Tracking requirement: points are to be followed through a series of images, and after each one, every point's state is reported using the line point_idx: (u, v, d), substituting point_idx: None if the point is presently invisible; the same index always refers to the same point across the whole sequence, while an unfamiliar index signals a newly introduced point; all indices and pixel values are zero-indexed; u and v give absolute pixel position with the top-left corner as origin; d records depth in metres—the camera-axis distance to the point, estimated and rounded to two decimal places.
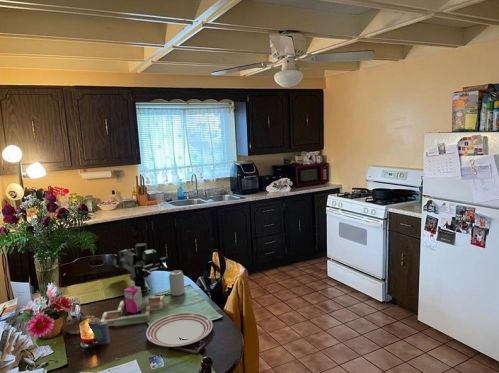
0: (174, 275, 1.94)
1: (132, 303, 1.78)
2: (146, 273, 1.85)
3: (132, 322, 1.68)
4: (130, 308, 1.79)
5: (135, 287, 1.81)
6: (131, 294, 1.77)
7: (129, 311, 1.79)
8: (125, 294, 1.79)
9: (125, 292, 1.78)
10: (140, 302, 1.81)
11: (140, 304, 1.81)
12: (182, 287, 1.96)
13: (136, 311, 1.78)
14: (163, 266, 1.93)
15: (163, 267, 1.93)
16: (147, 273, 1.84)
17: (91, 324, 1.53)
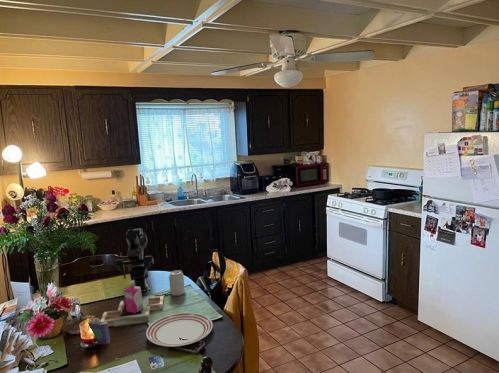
0: (174, 275, 1.94)
1: (132, 303, 1.78)
2: (123, 274, 1.88)
3: (132, 322, 1.68)
4: (130, 308, 1.79)
5: (135, 287, 1.81)
6: (131, 294, 1.77)
7: (129, 311, 1.79)
8: (125, 294, 1.79)
9: (125, 292, 1.78)
10: (140, 302, 1.81)
11: (140, 304, 1.81)
12: (182, 287, 1.96)
13: (136, 311, 1.78)
14: (144, 268, 1.91)
15: None
16: (123, 275, 1.88)
17: (91, 324, 1.53)
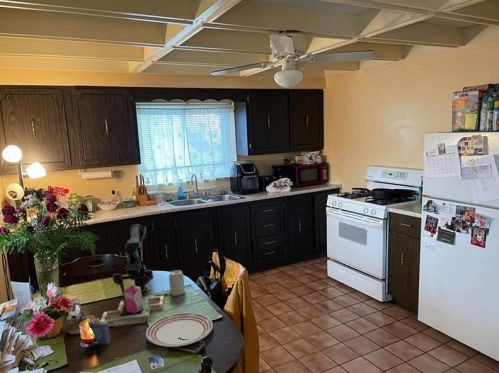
0: (174, 275, 1.94)
1: (132, 303, 1.78)
2: (121, 289, 1.82)
3: (132, 322, 1.68)
4: (130, 308, 1.79)
5: (135, 287, 1.81)
6: (131, 294, 1.77)
7: (129, 311, 1.79)
8: (125, 294, 1.79)
9: (125, 292, 1.78)
10: (140, 302, 1.81)
11: (140, 304, 1.81)
12: (182, 287, 1.96)
13: (136, 311, 1.78)
14: (143, 283, 1.85)
15: None
16: (122, 291, 1.81)
17: (91, 324, 1.53)
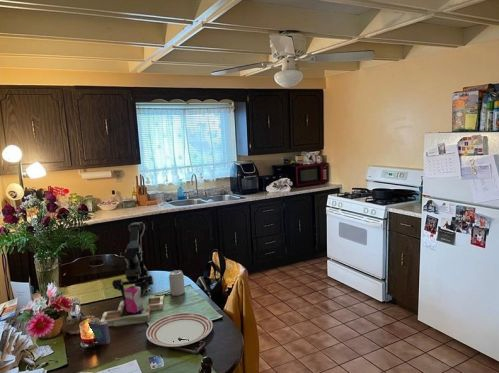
0: (174, 275, 1.94)
1: (132, 303, 1.78)
2: (122, 295, 1.80)
3: (132, 322, 1.68)
4: (130, 308, 1.79)
5: (135, 287, 1.81)
6: (131, 294, 1.77)
7: (129, 311, 1.79)
8: (125, 294, 1.79)
9: (125, 292, 1.78)
10: (140, 302, 1.81)
11: (140, 304, 1.81)
12: (182, 287, 1.96)
13: (136, 311, 1.78)
14: (142, 289, 1.82)
15: None
16: None
17: (91, 324, 1.53)
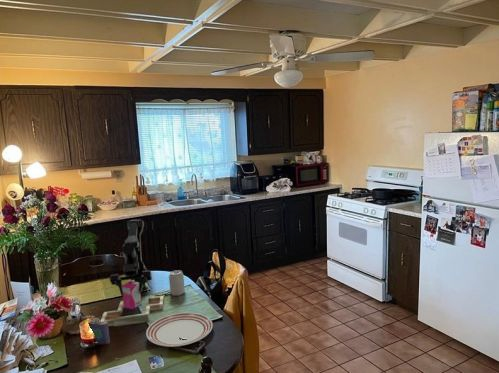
0: (174, 275, 1.94)
1: (129, 299, 1.73)
2: (120, 291, 1.75)
3: (132, 322, 1.68)
4: (127, 304, 1.74)
5: (133, 282, 1.76)
6: (129, 290, 1.72)
7: (127, 307, 1.74)
8: (123, 289, 1.74)
9: (123, 287, 1.74)
10: (139, 298, 1.76)
11: (138, 300, 1.76)
12: (182, 287, 1.96)
13: (134, 307, 1.73)
14: (140, 284, 1.77)
15: None
16: None
17: (91, 324, 1.53)
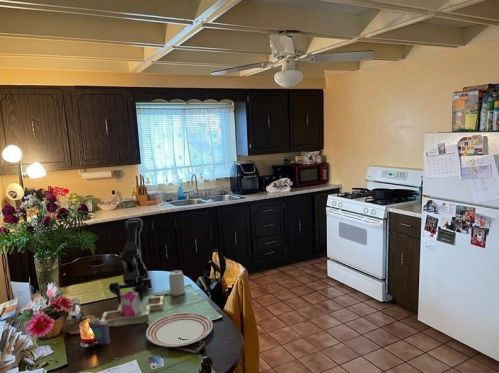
0: (174, 275, 1.94)
1: (129, 310, 1.70)
2: (118, 300, 1.72)
3: (132, 322, 1.68)
4: (127, 315, 1.71)
5: (133, 293, 1.73)
6: (129, 301, 1.69)
7: None
8: (122, 301, 1.71)
9: (122, 298, 1.71)
10: (139, 308, 1.74)
11: (138, 311, 1.73)
12: (182, 287, 1.96)
13: None
14: (141, 293, 1.75)
15: None
16: None
17: (91, 324, 1.53)
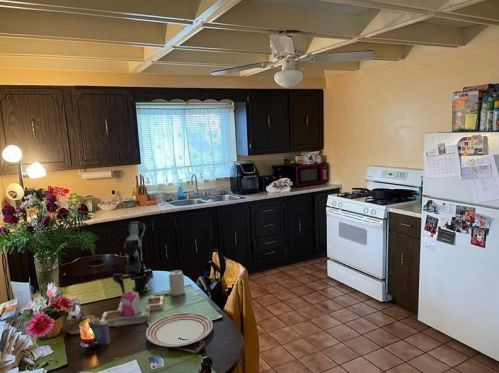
0: (174, 275, 1.94)
1: (129, 310, 1.70)
2: (122, 290, 1.82)
3: (132, 322, 1.68)
4: (127, 315, 1.71)
5: (133, 293, 1.73)
6: (129, 301, 1.69)
7: None
8: (122, 301, 1.71)
9: (122, 298, 1.71)
10: (139, 308, 1.74)
11: (138, 311, 1.73)
12: (182, 287, 1.96)
13: None
14: None
15: None
16: None
17: (91, 324, 1.53)
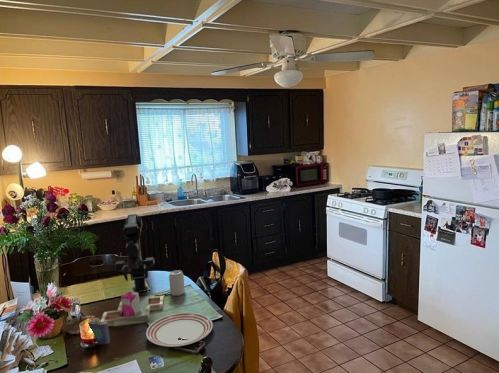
0: (174, 275, 1.94)
1: (129, 310, 1.70)
2: None
3: (132, 322, 1.68)
4: (127, 315, 1.71)
5: (133, 293, 1.73)
6: (129, 301, 1.69)
7: None
8: (122, 301, 1.71)
9: (122, 298, 1.71)
10: (139, 308, 1.74)
11: (138, 311, 1.73)
12: (182, 287, 1.96)
13: None
14: None
15: None
16: None
17: (91, 324, 1.53)
